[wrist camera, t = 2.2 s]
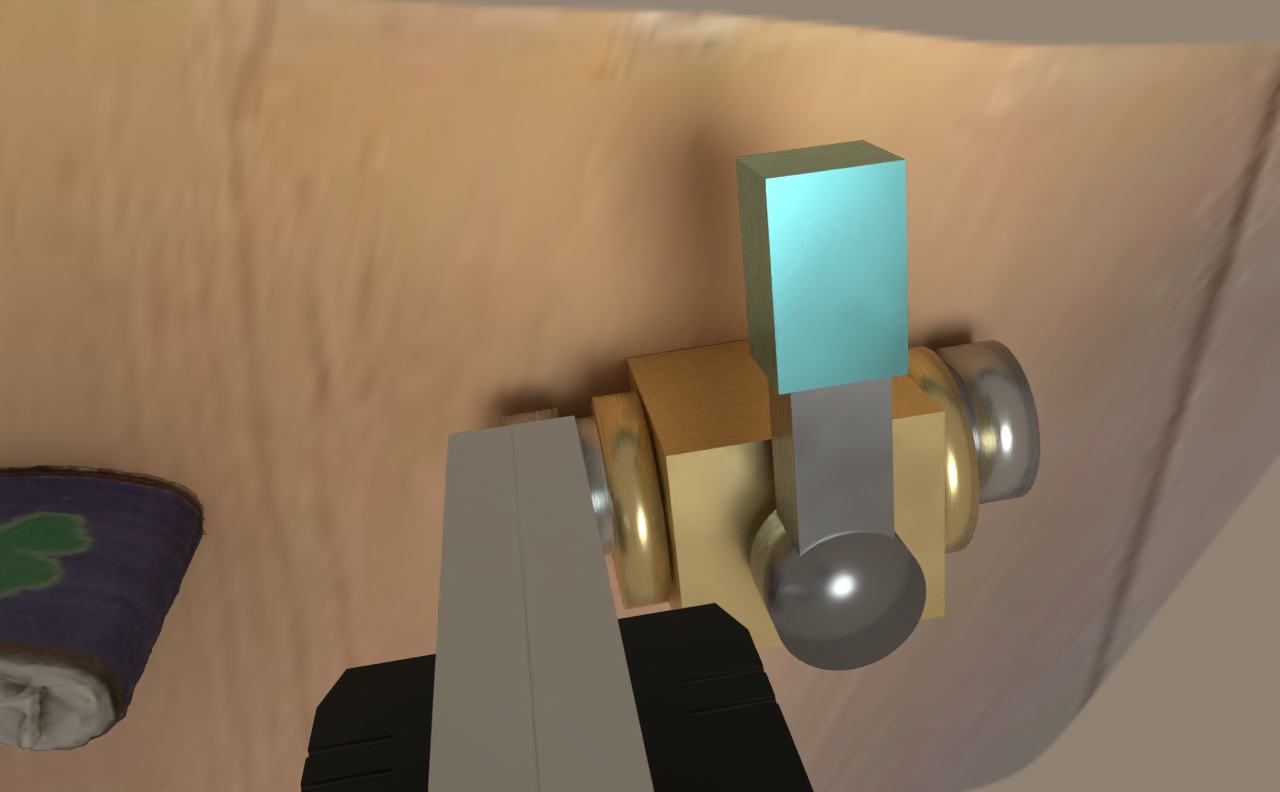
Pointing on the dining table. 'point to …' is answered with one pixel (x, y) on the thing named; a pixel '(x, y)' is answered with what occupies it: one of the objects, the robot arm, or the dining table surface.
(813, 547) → the lever
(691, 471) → the pipe valve
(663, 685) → the robot arm
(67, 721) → the flask
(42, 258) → the dining table surface
